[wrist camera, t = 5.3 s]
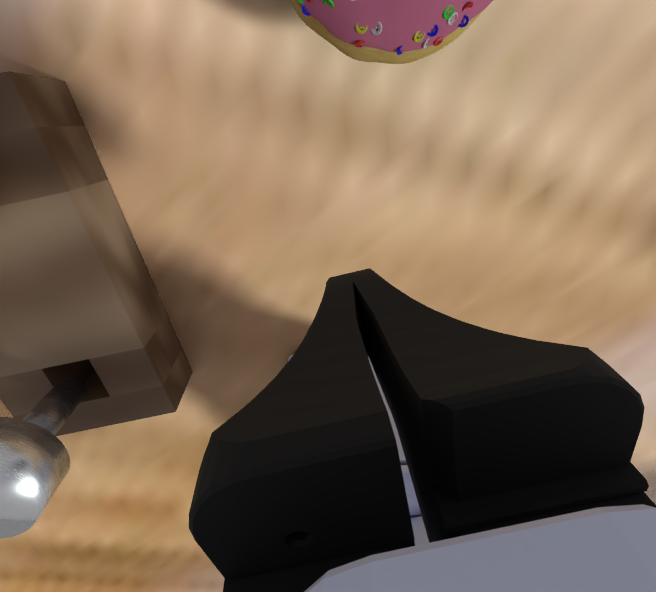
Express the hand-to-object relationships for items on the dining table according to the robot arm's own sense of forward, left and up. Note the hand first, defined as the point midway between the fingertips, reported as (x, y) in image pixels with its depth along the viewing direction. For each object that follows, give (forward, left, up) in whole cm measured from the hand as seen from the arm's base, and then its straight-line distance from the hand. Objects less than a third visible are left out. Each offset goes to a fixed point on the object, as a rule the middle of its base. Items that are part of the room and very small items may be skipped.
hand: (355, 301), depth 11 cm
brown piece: (+1, +14, -10) cm, 17 cm away
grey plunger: (-4, +14, -6) cm, 16 cm away
